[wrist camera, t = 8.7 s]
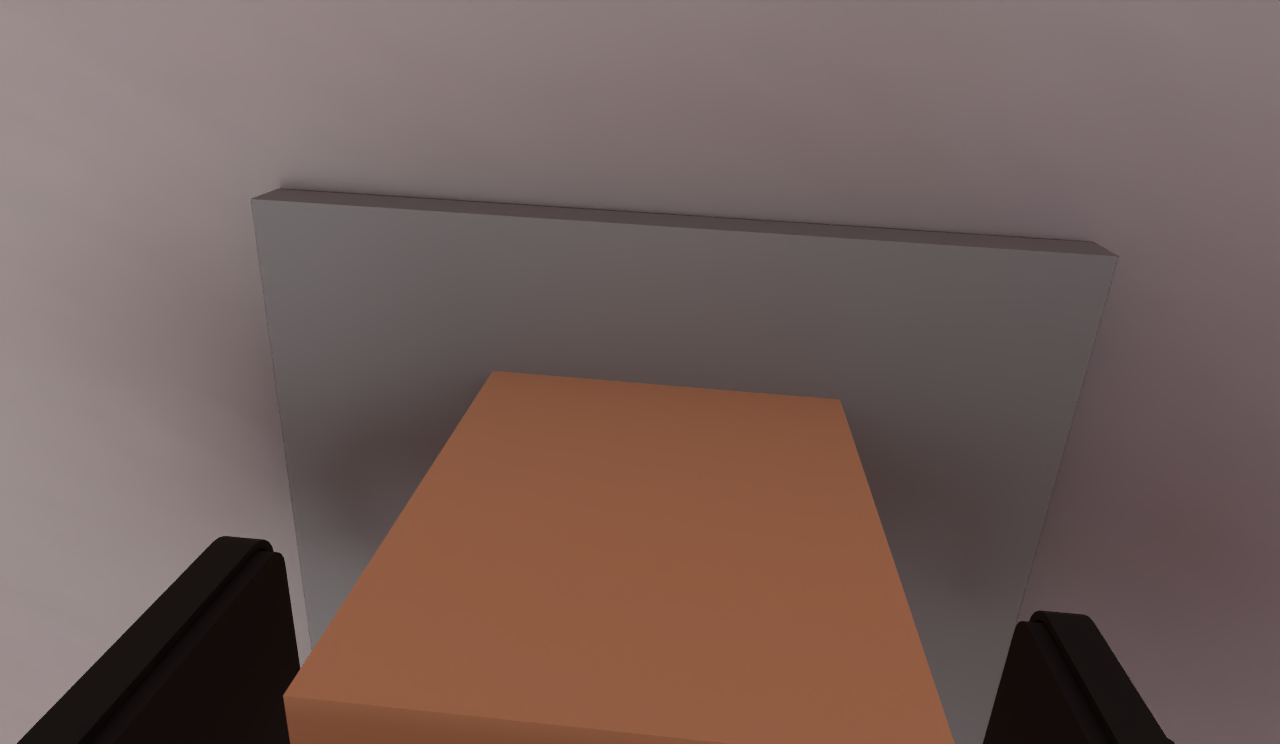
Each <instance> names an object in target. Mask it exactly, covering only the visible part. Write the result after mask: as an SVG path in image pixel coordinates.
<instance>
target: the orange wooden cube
mask: <svg viewBox="0 0 1280 744" xmlns="http://www.w3.org/2000/svg"><path fill="white" fill-rule="evenodd" d="M283 698H284V705H285V712H286V719H287V725H288V732H289V739H290V744H955V743H954V740H953V737H952V734H951V731H950V728H949V725H948V722H947V719H946V716H945V713H944V710H943V707H942V704H941V701H940V698H939V695H938V692H937V689H936V686H935V683H934V680H933V677H932V674H931V671H930V668H929V665H928V662H927V659H926V656H925V653H924V650H923V647H922V644H921V641H920V638H919V635H918V632H917V629H916V626H915V623H914V620H913V617H912V614H911V611H910V608H909V605H908V602H907V599H906V596H905V593H904V590H903V587H902V584H901V581H900V578H899V575H898V572H897V569H896V566H895V563H894V560H893V557H892V554H891V551H890V548H889V545H888V542H887V539H886V536H885V533H884V530H883V527H882V524H881V521H880V518H879V515H878V512H877V509H876V506H875V503H874V500H873V497H872V494H871V491H870V488H869V485H868V482H867V479H866V476H865V473H864V470H863V467H862V464H861V461H860V458H859V455H858V452H857V449H856V446H855V443H854V440H853V437H852V434H851V431H850V428H849V425H848V422H847V419H846V416H845V413H844V410H843V407H842V404H841V401H840V400H839V399H827V398H815V397H803V396H791V395H779V394H767V393H755V392H743V391H730V390H718V389H706V388H694V387H682V386H670V385H658V384H646V383H634V382H622V381H610V380H598V379H586V378H574V377H561V376H549V375H537V374H525V373H513V372H501V371H492V373H491V374H490V376H489V378H488V379H487V381H486V382H485V384H484V385H483V387H482V388H481V390H480V391H479V393H478V395H477V396H476V398H475V399H474V401H473V402H472V404H471V405H470V407H469V409H468V410H467V412H466V413H465V415H464V416H463V418H462V419H461V421H460V422H459V424H458V426H457V427H456V429H455V430H454V432H453V433H452V435H451V436H450V438H449V440H448V441H447V443H446V444H445V446H444V447H443V449H442V450H441V452H440V453H439V455H438V457H437V458H436V460H435V461H434V463H433V464H432V466H431V467H430V469H429V470H428V472H427V474H426V475H425V477H424V478H423V480H422V481H421V483H420V484H419V486H418V488H417V489H416V491H415V492H414V494H413V495H412V497H411V498H410V500H409V501H408V503H407V505H406V506H405V508H404V509H403V511H402V512H401V514H400V515H399V517H398V518H397V520H396V522H395V523H394V525H393V526H392V528H391V529H390V531H389V532H388V534H387V536H386V537H385V539H384V540H383V542H382V543H381V545H380V546H379V548H378V549H377V551H376V553H375V554H374V556H373V557H372V559H371V560H370V562H369V563H368V565H367V567H366V568H365V570H364V571H363V573H362V574H361V576H360V577H359V579H358V580H357V582H356V584H355V585H354V587H353V588H352V590H351V591H350V593H349V594H348V596H347V597H346V599H345V601H344V602H343V604H342V605H341V607H340V608H339V610H338V611H337V613H336V615H335V616H334V618H333V619H332V621H331V622H330V624H329V625H328V627H327V628H326V630H325V632H324V633H323V635H322V636H321V638H320V639H319V641H318V642H317V644H316V646H315V647H314V649H313V650H312V652H311V653H310V655H309V656H308V658H307V659H306V661H305V663H304V664H303V666H302V667H301V669H300V670H299V672H298V673H297V675H296V676H295V678H294V680H293V681H292V683H291V684H290V686H289V687H288V689H287V690H286V692H285V694H284V695H283Z"/></svg>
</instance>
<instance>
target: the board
mask: <svg viewBox="0 0 1280 744" xmlns="http://www.w3.org/2000/svg"><path fill="white" fill-rule="evenodd" d="M251 204H252V212H253V219H254V227H255V234H256V241H257V249H258V256H259V264H260V271H261V278H262V286H263V293H264V301H265V308H266V315H267V323H268V330H269V338H270V345H271V352H272V360H273V367H274V375H275V382H276V390H277V397H278V404H279V412H280V419H281V427H282V434H283V441H284V449H285V456H286V464H287V471H288V478H289V486H290V493H291V501H292V508H293V516H294V523H295V530H296V538H297V545H298V553H299V560H300V567H301V575H302V582H303V590H304V597H305V604H306V612H307V619H308V627H309V634H310V641H311V649H312V650H313V649H314V647H315V646H316V644H317V642H318V641H319V639H320V638H321V636H322V635H323V633H324V632H325V630H326V628H327V627H328V625H329V624H330V622H331V621H332V619H333V618H334V616H335V615H336V613H337V611H338V610H339V608H340V607H341V605H342V604H343V602H344V601H345V599H346V597H347V596H348V594H349V593H350V591H351V590H352V588H353V587H354V585H355V584H356V582H357V580H358V579H359V577H360V576H361V574H362V573H363V571H364V570H365V568H366V567H367V565H368V563H369V562H370V560H371V559H372V557H373V556H374V554H375V553H376V551H377V549H378V548H379V546H380V545H381V543H382V542H383V540H384V539H385V537H386V536H387V534H388V532H389V531H390V529H391V528H392V526H393V525H394V523H395V522H396V520H397V518H398V517H399V515H400V514H401V512H402V511H403V509H404V508H405V506H406V505H407V503H408V501H409V500H410V498H411V497H412V495H413V494H414V492H415V491H416V489H417V488H418V486H419V484H420V483H421V481H422V480H423V478H424V477H425V475H426V474H427V472H428V470H429V469H430V467H431V466H432V464H433V463H434V461H435V460H436V458H437V457H438V455H439V453H440V452H441V450H442V449H443V447H444V446H445V444H446V443H447V441H448V440H449V438H450V436H451V435H452V433H453V432H454V430H455V429H456V427H457V426H458V424H459V422H460V421H461V419H462V418H463V416H464V415H465V413H466V412H467V410H468V409H469V407H470V405H471V404H472V402H473V401H474V399H475V398H476V396H477V395H478V393H479V391H480V390H481V388H482V387H483V385H484V384H485V382H486V381H487V379H488V378H489V376H490V374H491V373H492V371H501V372H513V373H525V374H537V375H549V376H561V377H574V378H586V379H598V380H610V381H622V382H634V383H646V384H658V385H670V386H682V387H694V388H706V389H718V390H730V391H743V392H755V393H767V394H779V395H791V396H803V397H815V398H827V399H839V400H840V401H841V404H842V407H843V410H844V413H845V416H846V419H847V422H848V425H849V428H850V431H851V434H852V437H853V440H854V443H855V446H856V449H857V452H858V455H859V458H860V461H861V464H862V467H863V470H864V473H865V476H866V479H867V482H868V485H869V488H870V491H871V494H872V497H873V500H874V503H875V506H876V509H877V512H878V515H879V518H880V521H881V524H882V527H883V530H884V533H885V536H886V539H887V542H888V545H889V548H890V551H891V554H892V557H893V560H894V563H895V566H896V569H897V572H898V575H899V578H900V581H901V584H902V587H903V590H904V593H905V596H906V599H907V602H908V605H909V608H910V611H911V614H912V617H913V620H914V623H915V626H916V629H917V632H918V635H919V638H920V641H921V644H922V647H923V650H924V653H925V656H926V659H927V662H928V665H929V668H930V671H931V674H932V677H933V680H934V683H935V686H936V689H937V692H938V695H939V698H940V701H941V704H942V707H943V710H944V713H945V716H946V719H947V722H948V725H949V728H950V731H951V734H952V737H953V740H954V743H955V744H982V743H983V740H984V736H985V733H986V729H987V726H988V722H989V718H990V715H991V711H992V708H993V704H994V700H995V697H996V693H997V690H998V686H999V683H1000V679H1001V675H1002V672H1003V668H1004V665H1005V661H1006V658H1007V654H1008V650H1009V647H1010V643H1011V640H1012V636H1013V632H1014V629H1015V625H1016V622H1017V618H1018V615H1019V611H1020V607H1021V604H1022V600H1023V597H1024V593H1025V590H1026V586H1027V582H1028V579H1029V575H1030V572H1031V568H1032V564H1033V561H1034V557H1035V554H1036V550H1037V547H1038V543H1039V539H1040V536H1041V532H1042V529H1043V525H1044V522H1045V518H1046V514H1047V511H1048V507H1049V504H1050V500H1051V496H1052V493H1053V489H1054V486H1055V482H1056V479H1057V475H1058V471H1059V468H1060V464H1061V461H1062V457H1063V453H1064V450H1065V446H1066V443H1067V439H1068V436H1069V432H1070V428H1071V425H1072V421H1073V418H1074V414H1075V411H1076V407H1077V403H1078V400H1079V396H1080V393H1081V389H1082V385H1083V382H1084V378H1085V375H1086V371H1087V368H1088V364H1089V360H1090V357H1091V353H1092V350H1093V346H1094V343H1095V339H1096V335H1097V332H1098V328H1099V325H1100V321H1101V317H1102V314H1103V310H1104V307H1105V303H1106V300H1107V296H1108V292H1109V289H1110V285H1111V282H1112V278H1113V275H1114V271H1115V267H1116V264H1117V260H1118V257H1119V256H1117V255H1115V254H1113V253H1112V252H1110V251H1108V250H1106V249H1105V248H1103V247H1101V246H1099V245H1098V244H1096V243H1094V242H1084V241H1068V240H1053V239H1038V238H1022V237H1007V236H992V235H977V234H961V233H946V232H931V231H915V230H900V229H885V228H869V227H854V226H839V225H824V224H808V223H793V222H778V221H762V220H747V219H732V218H716V217H701V216H686V215H671V214H655V213H640V212H625V211H609V210H594V209H579V208H563V207H548V206H533V205H517V204H502V203H487V202H472V201H456V200H441V199H426V198H410V197H395V196H380V195H364V194H349V193H334V192H319V191H303V190H288V189H276V190H274V191H271V192H268V193H266V194H263V195H260V196H258V197H255V198H252V199H251Z"/></svg>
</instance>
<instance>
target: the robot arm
mask: <svg viewBox="0 0 1280 744" xmlns="http://www.w3.org/2000/svg"><path fill="white" fill-rule="evenodd" d="M299 670H300V664H299V657H298V650H297V643H296V636H295V629H294V623H293V616H292V609H291V602H290V595H289V588H288V581H287V574H286V567H285V561H284V557H283V556H282V554H280V553H278V552H273V548H272V546H271V544H270V543H269V542H268V541H266V540H262V539H251V538H240V537H229V536H223V537H219V538H218V539H216V540H215V541H214V542H213V543H212V544H211V545H210V546H209V547H208V548H207V549H206V550H205V551H204V552H203V553H202V554H201V555H200V556H199V557H198V558H197V559H196V560H195V561H194V562H193V563H192V564H191V565H190V566H189V567H188V568H187V569H186V570H185V571H184V572H183V573H182V574H181V575H180V577H179V578H178V579H177V580H176V581H175V582H174V583H173V584H172V585H171V586H170V587H169V588H168V589H167V590H166V591H165V592H164V593H163V594H162V595H161V596H160V597H159V598H158V599H157V600H156V601H155V602H154V603H153V604H152V605H151V606H150V607H149V608H148V609H147V610H146V611H145V612H144V613H143V614H142V616H141V617H140V618H139V619H138V620H137V621H136V622H135V623H134V624H133V625H132V626H131V627H130V628H129V629H128V630H127V631H126V632H125V633H124V634H123V635H122V636H121V637H120V638H119V639H118V640H117V641H116V642H115V643H114V644H113V645H112V646H111V647H110V648H109V649H108V650H107V651H106V652H105V653H104V655H103V656H102V657H101V658H100V659H99V660H98V661H97V662H96V663H95V664H94V665H93V666H92V667H91V668H90V669H89V670H88V671H87V672H86V673H85V674H84V675H83V676H82V677H81V678H80V679H79V680H78V681H77V682H76V683H75V684H74V685H73V686H72V687H71V688H70V689H69V690H68V691H67V692H66V694H65V695H64V696H63V697H62V698H61V699H60V700H59V701H58V702H57V703H56V704H55V705H54V706H53V707H52V708H51V709H50V710H49V711H48V712H47V713H46V714H45V715H44V716H43V717H42V718H41V719H40V720H39V721H38V722H37V723H36V724H35V725H34V726H33V727H32V728H31V729H30V730H29V731H28V733H27V734H26V735H25V736H24V737H23V738H22V739H21V740H20V741H19V742H18V743H17V744H290V739H289V732H288V725H287V719H286V712H285V705H284V698H283V695H284V694H285V692H286V690H287V689H288V687H289V686H290V684H291V683H292V681H293V680H294V678H295V676H296V675H297V673H298V672H299ZM983 744H1175V743H1174V742H1173V741H1171V740H1170V739H1168V738H1167V737H1166V736H1165V734H1164V733H1163V731H1162V729H1161V728H1160V726H1159V725H1158V723H1157V721H1156V720H1155V718H1154V717H1153V715H1152V714H1151V712H1150V710H1149V709H1148V707H1147V706H1146V704H1145V703H1144V701H1143V699H1142V698H1141V696H1140V695H1139V693H1138V691H1137V690H1136V688H1135V687H1134V685H1133V684H1132V682H1131V680H1130V679H1129V677H1128V676H1127V674H1126V672H1125V671H1124V669H1123V668H1122V666H1121V665H1120V663H1119V661H1118V660H1117V658H1116V657H1115V655H1114V654H1113V652H1112V650H1111V649H1110V647H1109V646H1108V644H1107V642H1106V641H1105V639H1104V638H1103V636H1102V635H1101V633H1100V631H1099V630H1098V628H1097V627H1096V625H1095V624H1094V622H1093V621H1092V620H1091V619H1090V618H1089V617H1088V616H1086V615H1081V614H1070V613H1060V612H1049V611H1037V612H1035V613H1034V614H1033V615H1032V616H1031V618H1030V621H1029V622H1026V621H1021V622H1019V623H1018V624H1017V625H1016V627H1015V630H1014V633H1013V637H1012V640H1011V644H1010V647H1009V651H1008V655H1007V658H1006V662H1005V665H1004V669H1003V672H1002V676H1001V680H1000V683H999V687H998V690H997V694H996V697H995V701H994V705H993V708H992V712H991V715H990V719H989V723H988V726H987V730H986V733H985V737H984V740H983Z"/></svg>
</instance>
